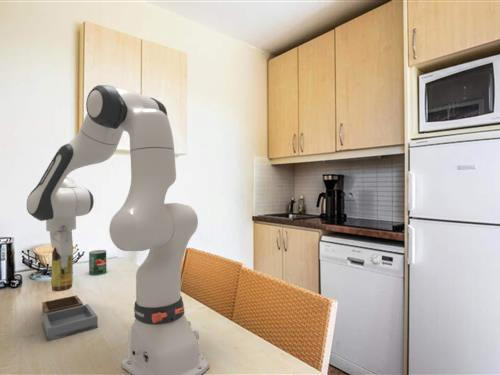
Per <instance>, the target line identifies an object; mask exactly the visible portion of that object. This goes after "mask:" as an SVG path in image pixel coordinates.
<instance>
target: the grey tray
mask: <svg viewBox="0 0 500 375" xmlns="http://www.w3.org/2000/svg"><path fill="white" fill-rule="evenodd" d="M41 318H42V320H41V324H42V329H43V331H44V333H45V336H46V339H47V342H49V341H53V340H58V339H60V338H64V337H68V336H72V335H75V334H79V333H83V332H85V331H87V332H88V331H89V330H93V329H97V328H98V324H99V323H98V321H99V319H98V315H97V314H96V313H95V311H94V309H92V308H91V306H90V305H89V304H88V303H87V304H83V305H81V306H77V307H73V308H68V309H64V310H60V311H55V312H51V313H46V314H43V313H42V316H41Z"/></svg>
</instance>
